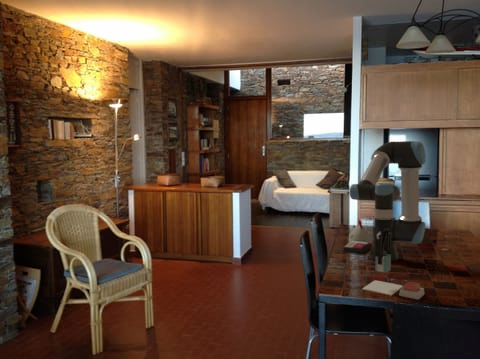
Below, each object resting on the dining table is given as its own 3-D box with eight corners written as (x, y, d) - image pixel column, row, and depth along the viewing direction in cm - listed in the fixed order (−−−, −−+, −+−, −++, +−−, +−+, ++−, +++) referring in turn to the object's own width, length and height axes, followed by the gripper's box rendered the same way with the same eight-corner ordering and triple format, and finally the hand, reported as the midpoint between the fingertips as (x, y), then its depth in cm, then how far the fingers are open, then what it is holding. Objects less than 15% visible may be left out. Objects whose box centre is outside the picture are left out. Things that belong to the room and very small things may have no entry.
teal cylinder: (379, 268, 200) (379, 249, 199) (390, 270, 196) (390, 251, 196) (375, 270, 196) (375, 252, 195) (386, 272, 193) (386, 253, 192)
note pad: (374, 281, 206) (375, 280, 206) (402, 286, 198) (402, 285, 198) (362, 289, 196) (362, 288, 196) (391, 295, 187) (391, 294, 187)
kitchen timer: (369, 241, 284) (369, 218, 282) (373, 247, 270) (373, 222, 269) (347, 241, 285) (347, 218, 284) (350, 246, 271) (350, 222, 270)
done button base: (405, 290, 194) (405, 284, 193) (424, 294, 189) (424, 288, 188) (399, 295, 187) (399, 289, 187) (418, 299, 182) (418, 293, 182)
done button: (407, 285, 191) (408, 281, 191) (419, 288, 188) (419, 283, 188) (403, 288, 187) (404, 284, 187) (416, 291, 184) (416, 286, 184)
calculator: (343, 246, 260) (351, 239, 273) (343, 253, 261) (351, 246, 273) (361, 248, 254) (369, 241, 267) (361, 255, 255) (369, 248, 267)
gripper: (383, 214, 203) (382, 263, 205) (367, 220, 189) (366, 273, 191) (399, 216, 199) (398, 266, 201) (384, 222, 185) (383, 276, 187)
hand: (383, 269), depth 196 cm, fingers closed on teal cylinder, 5 cm apart
